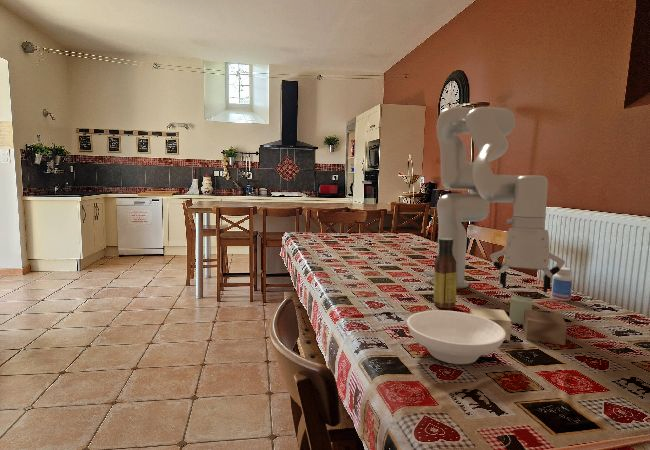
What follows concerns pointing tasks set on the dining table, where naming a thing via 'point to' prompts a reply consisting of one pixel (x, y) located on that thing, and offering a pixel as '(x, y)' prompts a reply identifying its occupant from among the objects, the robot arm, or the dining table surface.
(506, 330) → the beech block
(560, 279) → the pill bottle
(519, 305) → the sage block
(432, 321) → the bowl
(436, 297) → the sauce bottle
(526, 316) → the tan square block
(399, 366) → the dining table surface
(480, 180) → the robot arm
